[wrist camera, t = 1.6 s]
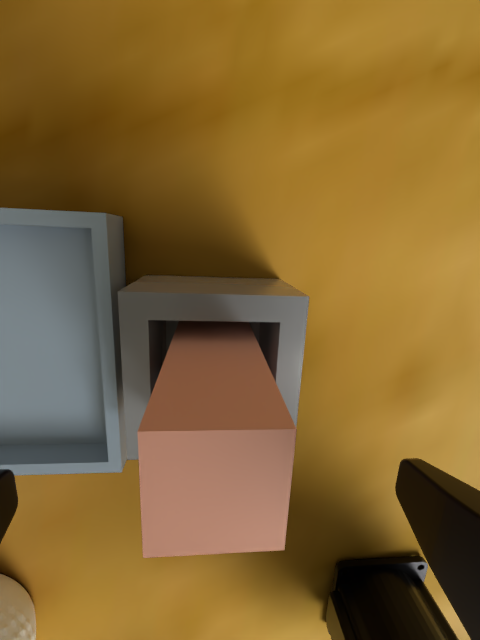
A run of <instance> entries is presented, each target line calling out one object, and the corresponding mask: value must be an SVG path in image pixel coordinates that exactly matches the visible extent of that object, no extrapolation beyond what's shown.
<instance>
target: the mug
mask: <svg viewBox="0 0 480 640" xmlns="http://www.w3.org/2000/svg"><path fill="white" fill-rule="evenodd" d="M0 640H36V617H35V610H34V605H33V602H32V600H31V598H30V596H29V594H28V593H27V591H26V590H25V589H24V588H23V587H22V586H21V585H20V584H19V583H18V582H16V581H15V580H13V579H11V578H10V577H8V576H5V575H3V574H0Z"/></svg>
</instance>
